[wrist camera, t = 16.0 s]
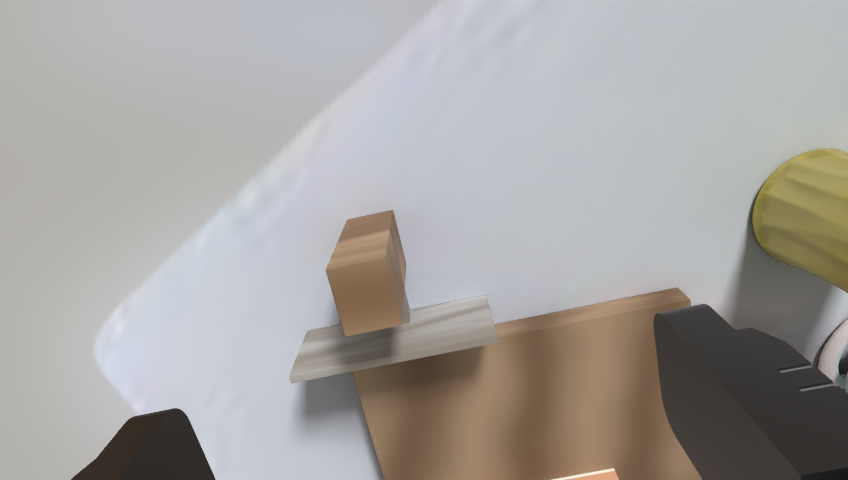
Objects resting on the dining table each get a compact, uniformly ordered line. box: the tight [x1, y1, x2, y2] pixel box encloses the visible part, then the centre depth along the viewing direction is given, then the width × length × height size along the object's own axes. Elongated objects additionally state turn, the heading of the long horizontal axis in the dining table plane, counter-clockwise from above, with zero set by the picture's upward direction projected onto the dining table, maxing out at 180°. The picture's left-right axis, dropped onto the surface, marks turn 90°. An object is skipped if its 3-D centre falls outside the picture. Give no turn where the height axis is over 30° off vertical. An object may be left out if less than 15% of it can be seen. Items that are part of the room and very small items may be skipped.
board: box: [352, 288, 702, 480], centre depth 33 cm, size 18×18×2 cm
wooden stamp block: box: [289, 210, 499, 383], centre depth 26 cm, size 6×10×7 cm, turn 103°
